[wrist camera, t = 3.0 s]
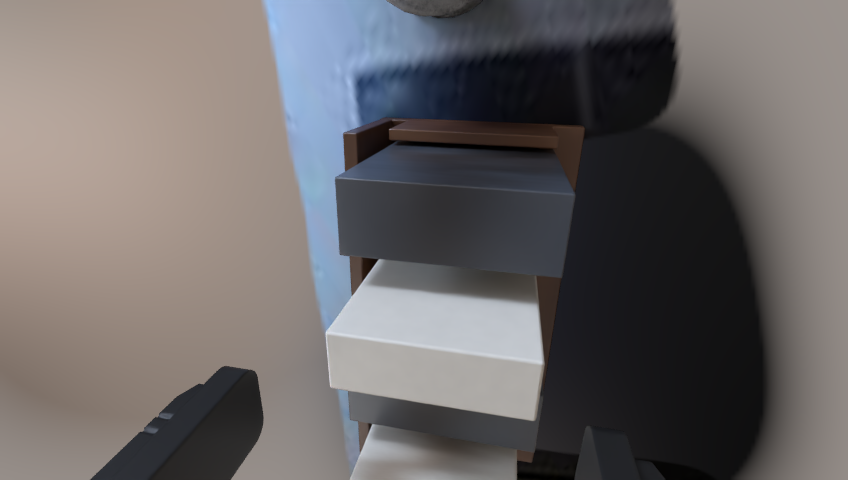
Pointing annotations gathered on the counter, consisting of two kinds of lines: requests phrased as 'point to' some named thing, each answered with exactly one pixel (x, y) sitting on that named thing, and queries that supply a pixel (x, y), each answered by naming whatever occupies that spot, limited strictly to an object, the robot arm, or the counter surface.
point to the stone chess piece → (436, 7)
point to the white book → (442, 338)
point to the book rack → (455, 263)
